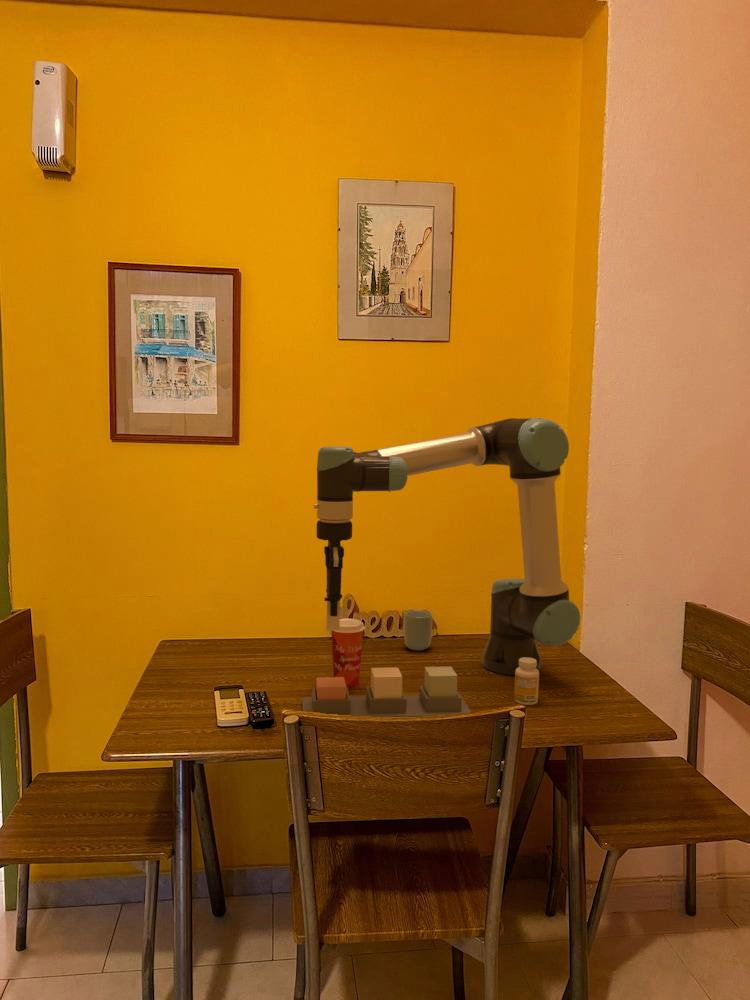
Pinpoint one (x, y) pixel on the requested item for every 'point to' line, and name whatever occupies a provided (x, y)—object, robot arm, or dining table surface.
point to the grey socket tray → (388, 705)
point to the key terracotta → (330, 688)
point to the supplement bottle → (526, 682)
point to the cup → (418, 629)
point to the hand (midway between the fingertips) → (332, 629)
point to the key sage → (440, 682)
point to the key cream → (386, 683)
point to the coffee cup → (347, 650)
